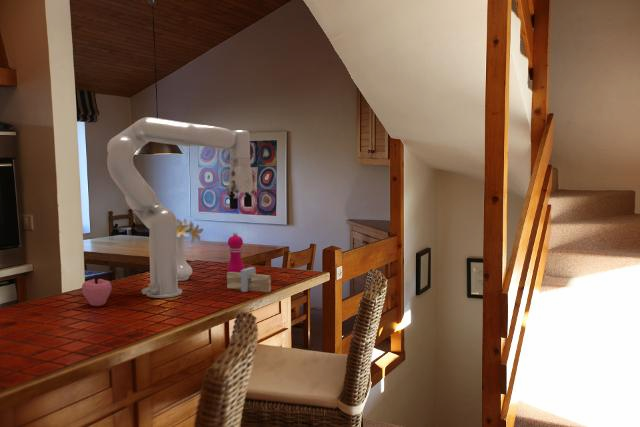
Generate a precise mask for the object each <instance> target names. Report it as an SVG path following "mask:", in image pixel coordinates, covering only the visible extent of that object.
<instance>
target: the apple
mask: <svg viewBox="0 0 640 427" xmlns="http://www.w3.org/2000/svg"><path fill="white" fill-rule="evenodd" d="M112 286H113V285H112V283H111V281H110V280H106V279H103V278H98V277H95V278H92V279H89V280H86V281H84V282H83V283H82V285H81V292H82V294H83V296H84V297H85V299H86V300H87V301H88V303H89V304H90V306H93V307H102V306H104V305H105V304H106V302H107V300H108V298H109V296H110V294H111V292H112V288H113V287H112Z"/></svg>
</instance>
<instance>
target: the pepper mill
mask: <svg viewBox="0 0 640 427" xmlns="http://www.w3.org/2000/svg"><path fill="white" fill-rule="evenodd" d="M243 240H244V239H243V237H242V236H239V235H238V232H236V231H233V233H232V236H230V237H229V238H228V239H227V245H228V247H229V249H228V252H230V259H229V262H228V264H227V268H226V273H227V272H239V273H241V270H243V269H246V268H245V265H244V262H243V260H242V256H241V254H242V251H243V249H242V246H243V244H244V242H243Z"/></svg>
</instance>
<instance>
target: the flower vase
mask: <svg viewBox="0 0 640 427" xmlns="http://www.w3.org/2000/svg"><path fill="white" fill-rule="evenodd" d="M176 219H177V236H176V250H177V280H178V282H182V281H183V282H184V281H188V280H189V277H190V276H191V275H192V274H193V268H192V266H191V265H190V264H189V263H188V262H187V260H186V256H185V248H184V240H185V237H186V238H187V237H189V236H191V241H190V242H191V243H192V244H193V243H194V242H195V240H197V241H199V242H200V241H201V236H200V235H199V234H201V233H203V231H204V228H199V226H200V225H199V224H197V225H196V226H194V225H195V224H194V222H192V220H191V219H189V222H188V220H187V219H186V218H183V221H182V220H180V219H179V218H176ZM189 234H190V235H189Z"/></svg>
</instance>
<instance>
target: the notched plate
mask: <svg viewBox="0 0 640 427" xmlns="http://www.w3.org/2000/svg"><path fill="white" fill-rule="evenodd" d="M252 274H257V273H256V267H254V266H250V267H246V268H245V269H243V270H241V290H240V292H243V293H247V292H249V290H248V283H251V275H252Z"/></svg>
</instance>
